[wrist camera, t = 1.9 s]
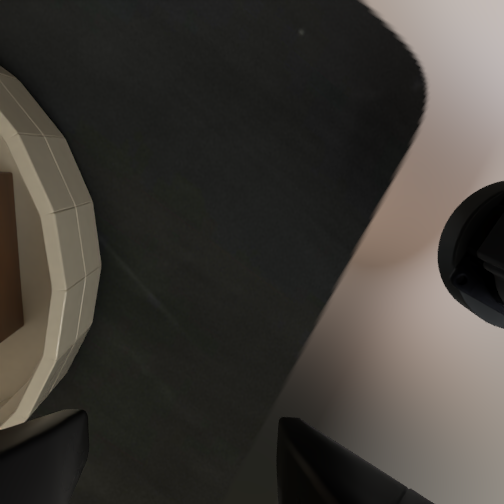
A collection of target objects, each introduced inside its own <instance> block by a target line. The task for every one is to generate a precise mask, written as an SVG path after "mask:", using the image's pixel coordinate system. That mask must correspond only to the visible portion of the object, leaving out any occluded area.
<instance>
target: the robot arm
mask: <svg viewBox="0 0 504 504" xmlns="http://www.w3.org/2000/svg"><path fill="white" fill-rule="evenodd" d="M460 276H463V277H464V279H463V281H462V282H461V283H458V278H459V277H460ZM450 283H451V285H453V286H454V287H455V288H457V289H458V290H460V291H462V292H464V293H465V294H467V295H469V296H471V297H472V298H474V299H476V300H478V301H480V302H481V303H483V304H485V305H487V306H488V307H490V308H492V309H494V310H495V311H497V312H499V313H501V314H502V315H504V198H503V199H502V200H501V202H500V203H499V205H498V206H495V207H493V209H492V210H491V212H490V213H489V215H488V216H487V218H486V219H485V220H484V222H483V223H482V225H481V226H480V228H479V229H478V231H477V232H476V234H475V235H474V237H473V238H472V240H471V241H470V242H469V244H468V245H467V252H466V253H465V255H464V256H463V258H462V259H461V260H460V262H459V263H458V265H457V266H456V268H455V269H454V271H453V272H452V274H451V276H450ZM88 452H89V433H88V416H87V413H86V411H84V410H75V409H67V410H62V411H59V412H56V413H53V414H50V415H46V416H43V417H40V418H37V419H34V420H31V421H27V422H24V423H21V424H18V425H15V426H12V427H8V428H5V429H2V430H0V504H68V503H69V501H70V498H71V496H72V494H73V491H74V489H75V487H76V484H77V482H78V480H79V477H80V475H81V473H82V470H83V468H84V466H85V463H86V461H87V457H88ZM277 483H278V501H279V504H434V503H433V502H431V501H429V500H427V499H426V498H424V497H423V496H421V495H420V494H418V493H417V492H415V491H414V490H412V489H408V488H407V487H406V486H404V485H403V484H401V483H400V482H398V481H396V480H395V479H393V478H392V477H390V476H389V475H387V474H386V473H384V472H382V471H380V470H379V469H378V468H376V467H375V466H373V465H372V464H370V463H368V462H367V461H365V460H364V459H362V458H360V457H359V456H357V455H356V454H354V453H353V452H351V451H349V450H348V449H346V448H345V447H343V446H342V445H340V444H339V443H337V442H336V441H334V440H332V439H331V438H329V437H328V436H326V435H324V434H323V433H322V432H320V431H318V430H317V429H315V428H314V427H312V426H311V425H309V424H307V423H306V422H304V421H303V420H301V419H300V418H291V417H282V418H280V420H279V426H278V441H277Z"/></svg>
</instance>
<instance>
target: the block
mask: <svg viewBox="0 0 504 504" xmlns="http://www.w3.org/2000/svg"><path fill="white" fill-rule="evenodd" d="M23 326H24V318H23V305H22V292H21V278H20V265H19V252H18V239H17V226H16V213H15V200H14V186H13V174H12V173H11V172H1V171H0V343H1V342H3V341H4V340H5V339H7V338H8V337H9V336H11V335H12V334H13V333H15V332H16V331H17V330H19V329H20V328H21V327H23Z"/></svg>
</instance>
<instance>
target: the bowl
mask: <svg viewBox="0 0 504 504" xmlns="http://www.w3.org/2000/svg"><path fill="white" fill-rule="evenodd" d="M0 171H1V172H11V173H12V174H13V186H14V200H15V213H16V226H17V239H18V252H19V265H20V278H21V292H22V305H23V318H24V326H23V327H21V328H20V329H19V330H17V331H16V332H15V333H13V334H12V335H11V336H9V337H8V338H7V339H5V340H4V341H3V342H1V343H0V430H2V429H5V428H8V427H12V426H15V425H18V424H21V423H24V422H25V421H26V420H27V419H28V418H29V417H30V416H31V414H32V413H33V412H34V411H35V410H36V409H37V407H38V406H39V405H40V404H41V403H42V401H43V400H44V399H45V398H46V397H47V396H48V394H49V393H50V392H51V391H52V390H53V388H54V387H55V386H56V385H57V384H58V383H59V381H60V380H61V379H62V378H63V377H64V376H65V374H66V373H67V371H68V369H69V367H70V366H71V364H72V362H73V360H74V358H75V356H76V354H77V352H78V350H79V348H80V346H81V344H82V342H83V340H84V338H85V336H86V334H87V332H88V330H89V329H90V327H91V324H92V321H93V315H94V309H95V303H96V296H97V290H98V284H99V278H100V272H101V258H100V250H99V243H98V236H97V229H96V221H95V214H94V207H93V202H92V199H91V196H90V194H89V192H88V189H87V187H86V185H85V183H84V180H83V178H82V176H81V173H80V171H79V169H78V167H77V164H76V162H75V160H74V157H73V155H72V153H71V151H70V148H69V146H68V144H67V141H66V139H65V138H64V136H63V135H62V133H61V132H60V131H59V130H58V128H57V127H56V126H55V125H54V123H53V122H52V121H51V120H50V118H49V117H48V116H47V115H46V113H45V112H44V111H43V110H42V108H41V107H40V106H39V105H38V103H37V102H36V101H35V100H34V98H33V97H32V96H31V95H30V93H29V92H28V91H27V90H26V88H25V87H24V86H23V84H22V83H21V82H20V81H19V80H17V78H16V77H15V76H13V75H12V74H11V73H9V72H8V71H7V70H5V69H4V68H3V67H1V66H0Z"/></svg>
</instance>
